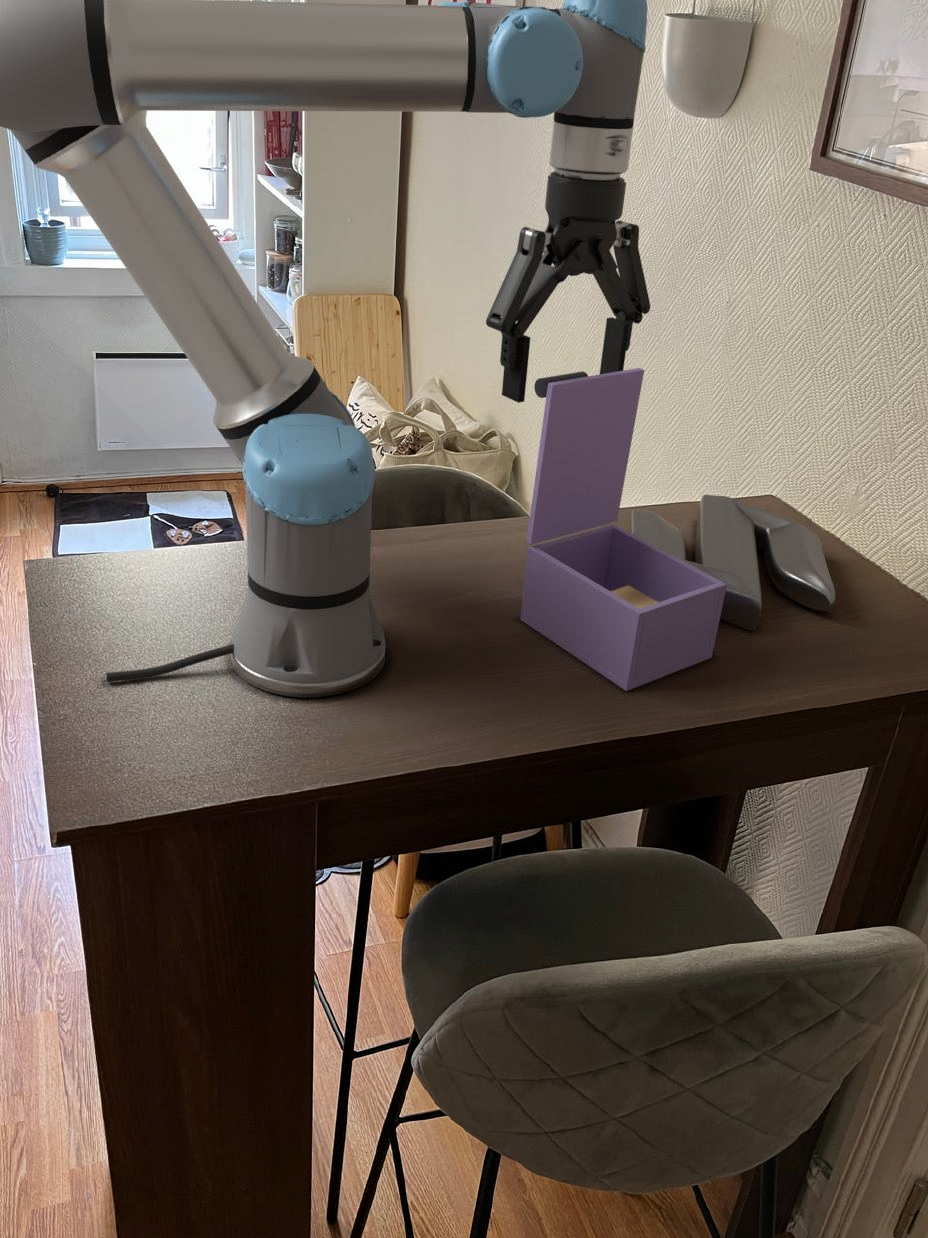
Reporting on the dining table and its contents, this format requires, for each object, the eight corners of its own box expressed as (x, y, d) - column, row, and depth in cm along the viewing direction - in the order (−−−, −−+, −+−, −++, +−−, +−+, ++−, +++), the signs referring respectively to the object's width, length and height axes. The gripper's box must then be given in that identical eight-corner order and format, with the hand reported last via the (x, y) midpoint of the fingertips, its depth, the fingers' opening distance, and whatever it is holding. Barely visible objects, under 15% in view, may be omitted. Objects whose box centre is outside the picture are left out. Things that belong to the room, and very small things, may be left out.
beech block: (593, 632, 118) (598, 595, 116) (622, 621, 121) (628, 584, 119) (623, 650, 115) (629, 613, 113) (652, 639, 118) (659, 602, 116)
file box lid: (644, 369, 114) (603, 351, 119) (553, 385, 107) (512, 365, 112) (617, 521, 123) (579, 499, 127) (530, 544, 116) (494, 520, 120)
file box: (711, 657, 117) (727, 584, 113) (626, 691, 110) (639, 613, 106) (603, 593, 128) (614, 523, 124) (520, 619, 121) (528, 547, 117)
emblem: (573, 496, 139) (758, 479, 149) (568, 535, 141) (750, 516, 151) (693, 600, 116) (901, 572, 126) (685, 644, 119) (889, 613, 129)
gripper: (511, 183, 96) (491, 417, 107) (705, 175, 110) (671, 383, 120) (459, 170, 101) (445, 395, 112) (651, 164, 115) (623, 365, 125)
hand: (563, 389), depth 116 cm, fingers open, 13 cm apart
